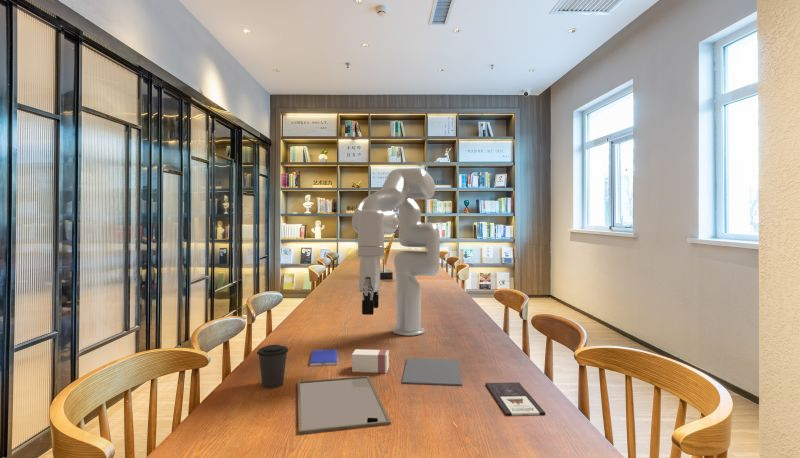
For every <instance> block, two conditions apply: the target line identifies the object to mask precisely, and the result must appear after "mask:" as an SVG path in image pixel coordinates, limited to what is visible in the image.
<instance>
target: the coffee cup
mask: <svg viewBox="0 0 800 458" xmlns="http://www.w3.org/2000/svg"><path fill="white" fill-rule="evenodd" d="M288 352H289V349H288V347H287V346H285V345H281V344H271V345H266V346H262V347H259V349H257V351H256V354H257V355H258V360H259V368H260V377H261V385H262V387H263V388H266V389H274V388H279V387H282V386H283V385H284V379H285V371H286V364H287V353H288Z"/></svg>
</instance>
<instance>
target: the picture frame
mask: <svg viewBox="0 0 800 458" xmlns="http://www.w3.org/2000/svg"><path fill="white" fill-rule="evenodd" d="M297 415H298V416H297V417H298V421H297V422H298V435H308V434H317V433H326V432H335V431H342V430H343V431H344V430H352V429H353V430H354V429H359V428H360V429H361V428H369V427H371V428H372V427H378V426H389V425H392V424H391V419H390V417H389V415H388V413H387V410H386V409H385V407H384V405H383V402H382V401H381V398H380V397H379V394H378V393H377V390H376V388H375V386H374V384H373V382H372V379H371V378H370V375H365V376H364V375H362V376H352V377H351V376H350V377H337V378H327V379H326V378H324V379H312V380H301V381H300V380H299V381H297Z"/></svg>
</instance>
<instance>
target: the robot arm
mask: <svg viewBox="0 0 800 458" xmlns="http://www.w3.org/2000/svg"><path fill="white" fill-rule="evenodd" d="M435 193H436V184H435V181H434V179H433V177H432V176H431V175H430V173H428V171H426V170H425V169H423V168H417V167H416V168H414V167H413V168H412V167H411V168H396V169H393V170H391V171H390V172H389V173H388V175H387V176H386V178H385V181H384V182H383V185H382V187H381V189H380V190H378V191H376V192H373V193H371V194H370V195H368V196H366V197H364V198H363V199H362V200H361V201H360V202H359V203H358V205H357V206H356V208H355V210H354V212H353V214H352V218H351V226H352V229H353V231H354V232H355V233H357V258H360V261H359V273H358V277H359V278H358V292H359V293H362V299H361V315H364V316H365V315H367V316H368V315H369V316H370V315H371V316H373V315H374V313H375V312H374V310H375V309H378V308H379V299H380V297H379V289H380V287H381V285H380V284H381V259H382V258H384V257H385V235H392V234H395V232H396V231H398V241H399V244H400V245H401V246H402V247H406V248H425V249H426V250H402V251H399V252H397V253H395V256H394V260H393V262H394V263H393V266H394V270H395V280H396V281H395V282H396V283H395V284H396V285H395V286H396V302H395V303H396V314H395V315H396V318H395V319H396V325H395V326H393V328H392V331H391V332H392V333H393V334H394V335H395V334H396V335H399V336H420V335H422V334H424V333H425V331H426V330H425V328H424V327H423V326H421V325H422V323H421V322H422V317H421V316H422V311H421V310H422V288H421V284H420V281H419V280H418V279H417V276H419V277H420V276H421V277H434V276H437V274H438V273H439V272H440V271H439V269H440V258H441V257H440V254H441V253H440V249H441V247H440V246H441V245H440V244H441V235H440V230H439V227H438V225H437V224H436V223H432V222H422V221H421V220H422V219H421V217H422V216H421V212H422V211H421V208H420V206H419V205H418V203H417V202H416V201H415V200H429V199H432V198H433V197H434V195H435ZM395 209H398V215H397V213H396V212H395V211H393V210H395Z"/></svg>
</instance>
